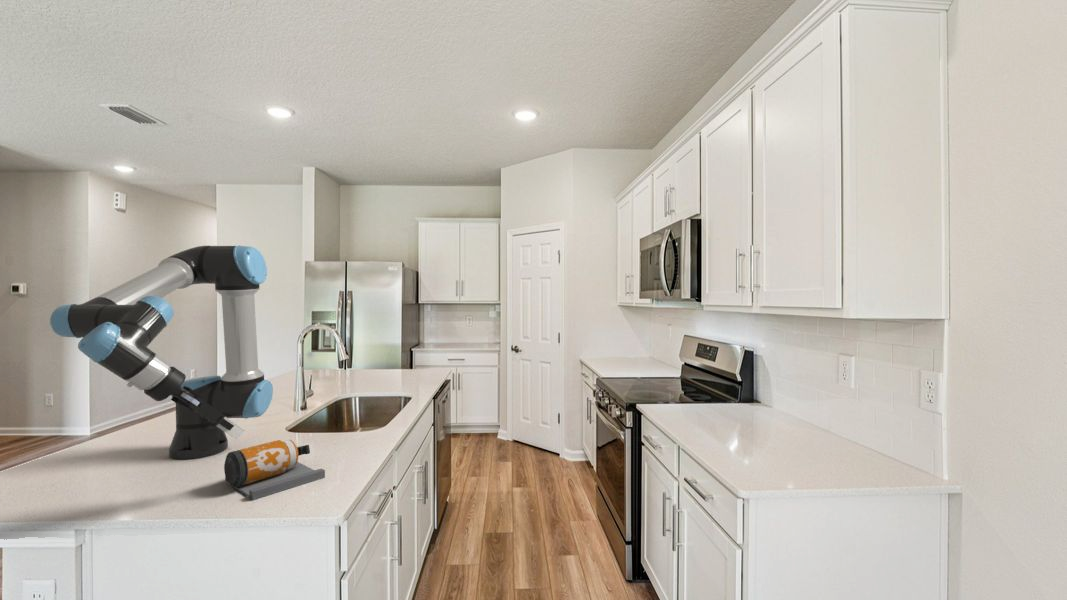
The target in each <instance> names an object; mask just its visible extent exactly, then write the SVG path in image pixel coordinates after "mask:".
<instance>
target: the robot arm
mask: <svg viewBox="0 0 1067 600" xmlns="http://www.w3.org/2000/svg"><path fill="white" fill-rule="evenodd" d="M267 267H268V266H267V262H266V260H265V257H264V255H263V254H262V253H261V251H259V249H257V248H256V247H252V246H249V245H248V246H246V245H244V246H243V245H199V246H195V247H191V248H188V249H185V250H182V251H179V252H177V253H175V254H172V255H170V256H168V257H166V258H164V259H162V260H161V261H160V262H159V263H158V265H157V266H156V267H154V268H152V269H150V270H148V271H146V272H144V273H141V274H140V275H138V276H135V277H134V278H131V279H130V280H128V281H126V282H124V283H122V284H120V285H118V286H116V287H114V288H112V289H109V290H108V291H105V292H104V293H102V294H100V295H98V296H95V297H94V298H92V299H90V300H88V301H86V302H83V303H80V304H77V303H71V304H63V305H59V306H58V307H56V308H55V309H54V310H53V311H52V312H51V315H50V318H49V319H50V320H49V325H50V326H51V328H52V331H53V332H54V333H55V334H56V335H58V336H60V337H63V338H64V337H65V338H76V339H80V340H79V342H78V343H77V349H78V350H79V351H80V352H81V353H82V354H83V355H85V356H86V357H88V358H89V359H90V360H91V361H92V362H94V363H96V364H98V365H99V366H101V367H103V368H105V369H106V370H108V371H109V372H111V373H113V374H114V375H115V376H118V377H119V378H120V379H122V380H123V381H125V382H127V384H126V386H127V387H128V388H131V387H133V386H134V387H135V388H136V389H138V390H139V391H143V392H144V395H147V396H148V397H149V398H151V399H153V400H154V401H156V402H161V401H164V400H166V399H167V398H169V397H170V396H171V399H170V400H171V401H172V402H173V403H175V425H176V426H175V432H174V435H173V437H172V440H171V443H170V446H169V449H168V456H169V458H171V459H175V460H191V459H192V460H193V459H198V458H204V457H208V456H212V455H216V454H219V453H221V452H223V451H225V450H227V449H228V447H229V440H228V439H229V438H228V437H227V435H229V436H230V437H232V438H234V439H235V440H238V439H239V438H240V437H241V436H242V434H243V433H244V432H245V431H246V430H245V429H244V428H243V427H241V426H240V425H238V424H237V423H235V422H234V421H232V420H231V419H246V420H247V419H249V418H252V419H253V418H260V417H261V416H263V415H264V414H265V413H266V412H267V410H268V409H269V407H270V405H271V402H272V400H273V394H274V387H273V383H272V381H270V380H268V379H265V373H264V372H263V371H262V370H261V369H259V359H258V355H259V354H258V340H257V339H258V338H257V337H258V336H257V322H256V319H257V318H256V301H255V300H256V299H255V294H256V293H257V292H258V291H259V290H260V285H261V284H264V282H265V281H266V280H267V274H268V268H267ZM198 284H199V285H203V284H204V285H205V284H212V285H214V287H215V289H214V290H215V292H217V294H219V295H220V296H221V305H222V322H223V339H224V358H225V373H224V374H223V375H209V376H203V377H197V378H191V379H188V380H187V378H186V374H185V373H183V372H182V371H181V370H180V369H178V368H177V367H175V366H171V363H170V362H169V361H167V360H166V359H164V358H163V357H161V356H160V355H159V354H157V353H156V352H154V351H153V350H151V349H150V348H149V345H151V343H152V342H153V341H154V339H155V338H156V337H158V335H159V334H160V333H161V332H162V331H163V330H164V328H166V327H167V326H168V324H169V322H170V321H171V320H172V318H173V316H174V313H175V312H174V308H173V306H172V305H171V303H170V302H168V301H167V300H166V299H164V297H166V296H167V295H170V293H172V292H174V291H176V290H181V289H185V288H189V287H190V286H192V285H198Z"/></svg>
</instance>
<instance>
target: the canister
mask: <svg viewBox="0 0 1067 600" xmlns="http://www.w3.org/2000/svg"><path fill="white" fill-rule="evenodd" d="M310 450H311V449H310V445H309V444H306V445H301V446H297V444H296V443H295V441H293V440H292V439H286V440H280V439H278V440H273V441H270V442H266V443H260V444H257V445H253V446H249V447H245V448H241V449H237V450H233V451H230V452H228V453H227V454H226V457H225V461H224V466H223V469H224V470H223V471H224V477H225V476H226V479H227V481H228V482H229V484H228V485H230V486H231V487H232V488H234V489H236V487H239V486H241V485H245V484H249V483H252V482H255V481H258V480H262V479H265V478H268V477H271V476H275V475H278V474H281V473H284V472H285V471H286V470H287V469H290V468H293V467H294V466H295V465H296V464H297V462H299V456H302V455H309V454H311V451H310Z"/></svg>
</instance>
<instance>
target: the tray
mask: <svg viewBox="0 0 1067 600" xmlns="http://www.w3.org/2000/svg"><path fill="white" fill-rule="evenodd" d="M224 478H225V480H224V481H225V483H227V484H228V483H229V482H228V481H227V479H226V476H225V475H224ZM325 478H326V471H325V469H323V468H319V469H314V468H311V467H308V466H307V465H305V464H303V463H301V462H299V461H298V462H297V464H296V465H295V466H294V467H293V468H290V469H287V470H286V471H285V472H284V473H281V474H278V475H275V476H271V477H268V478H265V479H262V480H258V481H255V482H252V483H249V484H245V485H241V486H239V487H236V488H235V490H237V489H238V490H237V491H239V492H240V491H241V492H242V493H241V492H240V493H241V494H243V495H244V494H245V495H244V496H246V497H247V496H248V497H247V498H249V499H250V500H252V501H255V500H258V499H261V498H265V497H267V496H270V495H274V494H277V493H281V492H283V491H287V490H290V489H292V488H296V487H298V486H302V485H305V484H308V483H311V482H315V481H318V480H322V479H325Z"/></svg>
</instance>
